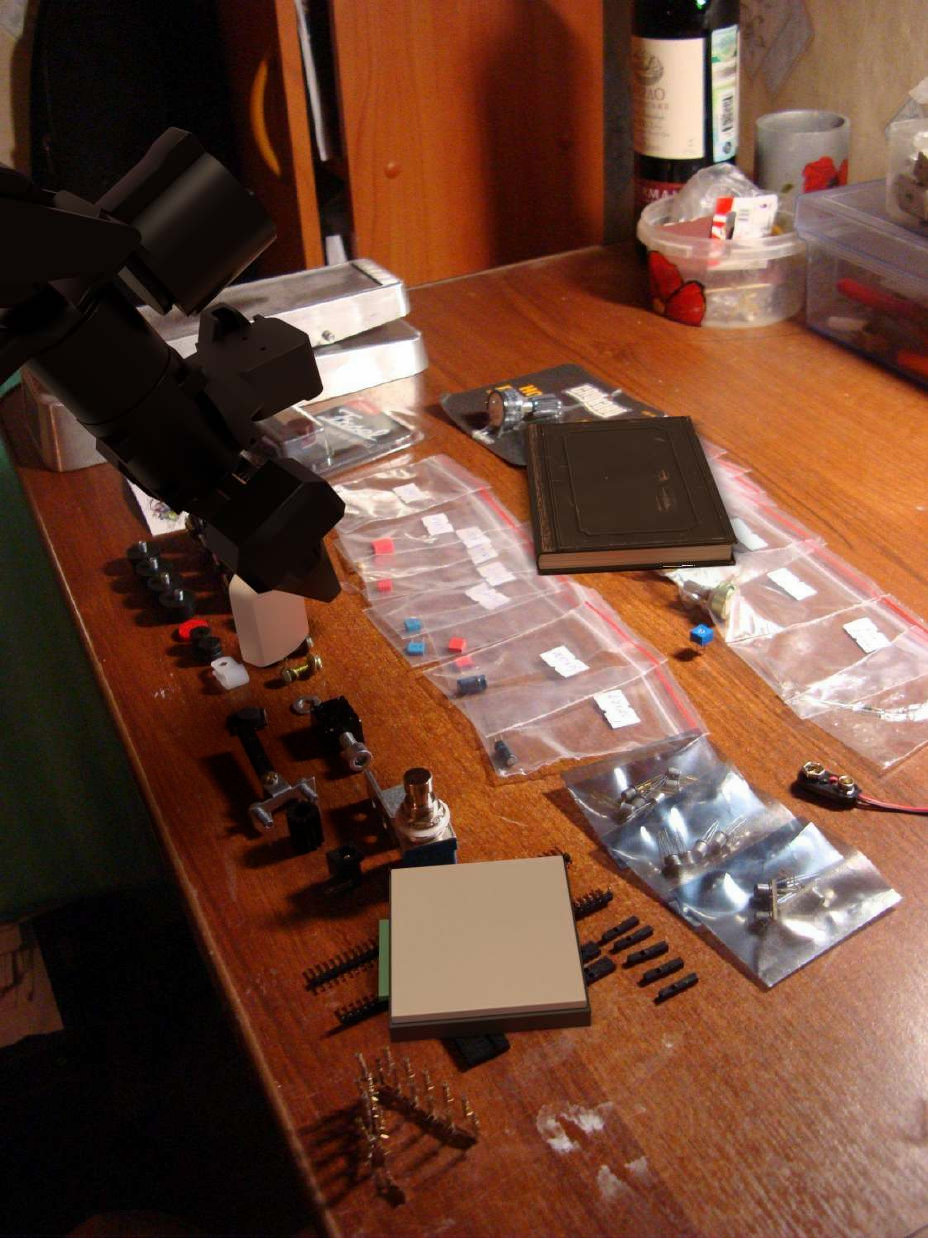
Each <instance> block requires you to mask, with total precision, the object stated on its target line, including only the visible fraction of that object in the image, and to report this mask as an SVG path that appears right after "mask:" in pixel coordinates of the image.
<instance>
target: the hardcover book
mask: <svg viewBox="0 0 928 1238" xmlns="http://www.w3.org/2000/svg"><path fill="white" fill-rule="evenodd" d="M523 445H524V455H525V465H526V475H527V485H528V494H529V495H528V496H529V503H530V504H529V505H530V513H531V514H530V515H531V523H532V534H533V543H534V555H535V564H536V570H537V571H538V572H539V573H540V574H542V575H546V576H547V575H563V574H565V575H566V574H581V573H582V574H583V573H585V574H586V573H598V572H599V573H602V572H619V571H620V572H621V571H622V572H623V571H639V570H657V569H658V570H659V568H660V567H663V566H682V565H693V566H694V565H695V566H699V567H707V566H706V565H717V566H728V565H727V564H735V565H736V564H737V561H736V558H735V555H734V552H733V550H732V545H738V544H739V543H738V542H739V541H738V538H737V536H736V533H735V530H734V528H733V525H732V522H731V520H730V517H729V514H728V512H727V509H726V506H725V504H724V502H723V498H722V497H721V493H720V491H719V488H718V486H717V483H716V481H715V478H714V475H713V472H712V470H711V467H710V465H709V461H708V458H707V456H706V454H705V451H704V448H703V446H702V443H701V440H700V438H699V435H698V433H697V430H696V427H695V425H694V421H693V419H692V417H691V415H675V416H673V415H672V416H657V417H640V418H639V417H638V418H622V419H621V418H620V419H606V420H605V419H604V420H586V421H567V422H553V423H552V422H551V423H535V424H534V423H533V424H532V423H531V424H528V425H527V426H525V428H524V429H523ZM722 564H723V565H722ZM702 565H703V566H702Z"/></svg>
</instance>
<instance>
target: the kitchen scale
mask: <svg viewBox="0 0 928 1238" xmlns="http://www.w3.org/2000/svg"><path fill="white" fill-rule="evenodd" d="M568 871H569V870H568V866H567V861H566V860H565V859H564V857H563V855H551V856H540V857H539V856H538V857H526V858H514V859H513V858H512V859H503V860H502V859H501V860H490V861H476V862H466V863H453V864H441V865H427V866H416V867H406V868H405V867H403V868H393V869H391V871H390V874H389V875H388V918H385V919H379V922H378V923H379V924H378V1000H379V1001H380V1002H385V1001H388V1031H389V1038H390V1042H391V1043H403V1042H415V1041H416V1042H417V1041H427V1040H439V1039H451V1038H463V1037H464V1038H465V1037H474V1036H486V1035H487V1036H489V1035H498V1034H499V1035H501V1034H510V1033H522V1032H523V1033H525V1032H534V1031H547V1030H557V1029H560V1030H561V1029H571V1028H581V1027H582V1028H583V1027H584V1028H585V1027H590V1026H591V1025H592V1009H591V1002H590V997H589V989H588V985H587V980H586V979H587V978H586V974H585V968H584V962H583V954H582V949H581V943H580V937H579V931H578V926H577V925H578V924H577V919H576V913H575V908H574V901H573V895H572V890H571V884H570V877H569V872H568Z"/></svg>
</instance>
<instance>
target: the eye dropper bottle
mask: <svg viewBox="0 0 928 1238" xmlns="http://www.w3.org/2000/svg"><path fill="white" fill-rule="evenodd" d="M228 595H229V596H228V597H229V601H230V606H231V611H232V617H233V622H234V626H235V631H236V635H237V638H238V639H237V640H238V645H239V649H240V654H241V657H242V660H243V662H245V663H248V664H249V665H253V666H255V667H257V668H264V667H267V666H270V665H273V664H274V663H277V662H279V661H281V660H282V659H284V658H285V657H287V656H289V655H290V654H292V653H293V652H294V651H295V650H297V649H298V647H300V646H301V645H302V643H303V642H304V641H305V640H306V638H307V637H308V635H309V633H310V626H309V620H308V614H307V609H306V603H305V597H302V596H298V595H295V594H290V593H286V592H281V591H276V590H272V591H270V592H266V593H262V594H257V593H256V592H255V591H254V590H253V589H252V588H250V587H249V586H248V585H247V584H246V583H245V582H244V581H242V580H241V579H240V578H239V577H238V576H237V575H236V574H235V573H234V575H233V576H232V578H231V581H230V583H229V586H228Z"/></svg>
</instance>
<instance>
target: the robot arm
mask: <svg viewBox="0 0 928 1238" xmlns="http://www.w3.org/2000/svg"><path fill="white" fill-rule="evenodd" d="M277 238H278V231H277V227H276V224H275V222H274V221H273V219H272V217H271V214H270V213H269V211H268V210H267V208H266V207H265V205H264V204H263V202H262V201H261V200H260V198H259V196H258V195H257V194H256V193H255V192H254V191H253V190H251V189H249V188H247V187H245V186H244V185H243V184H242V183H241V181H239V180H238V178H236V176H234V174H233V173H232V172H231V171H230V170H229V169H228V168H227V167H226V166H224V165H223V164H222V163H221V162H220V161H219V160H218V159H216V158H215V156H213V155H212V154H211V153H209V152H208V151H206V149H205V147H204V146H203V145H202V144H201V142H200V141H199V139H198V138H197V137H196V135H195V134H194V133H193V132H190V131H187V130H184V129H181V128H178V127H174V126H170V127H168V129H166V130H165V131H164V132H163V133H162V134H161V135H159V136H158V138H157V139H155V141H154V142H153V143H152V145H151V146H150V147H149V149H148V150H147V152H146V153H145V155H144V157H142V158H141V160H140V161H139V162H137V164H136V165H135V166H133V167H132V168H131V169H130V170H129V171H128V172H127V173H126V174H125V175H124V176H122V178H121V179H120V180H119V181H117V183H115V184H114V185H113V186H112V187H111V188H110V189H109V190H107V192H106V193H105V194H103V196H101V198H99V199H98V200H97V201H96V203H94V204H93V203H91V202H89V201H87V200H85V199H83V198H81V197H79V196H78V195H75V194H73V193H72V192H69V191H67V190H65V189H62V190H60V191H58V192H57V191H53V190H48V189H45V188H42V187H41V186H40V185H39V184H38V183H37V182H36V181H35V179H33V178H31V176H30V175H27V174H25V173H23V172H21V171H20V170H17V169H16V168H14V167H12V166H10V165H8V164H6V163H4V162H2V161H0V388H1V387H2V386H4V384H5V383H6V382H7V381H8V380H9V379H11V378H12V376H14V374H16V373H17V372H18V371H19V370H20V369H21V368H22V367H24V368H25V369H26V370H27V371H28V372H29V373H30V374H31V375H32V376H33V377H34V378H35V379H36V380H37V381H38V382H39V383H40V384H41V385H42V386H43V387H44V388H45V389H46V390H47V391H48V392H49V393H50V394H51V395H52V396H53V397H54V398H55V399H56V400H57V401H59V402H60V403H61V405H63V407H65V408H66V410H68V411H69V412H70V413H71V414H72V415H73V416H74V417H75V418H76V419H75V421H77V422H78V423H79V424H80V425H81V426H82V427H83V429H85V430H86V431H87V432H88V433H89V434H90V435H91V436H92V437H94V438H95V450H96V452H98V454H99V455H100V456H102V457H103V458H104V460H106V462H108V463H109V464H110V465H111V466H112V467H113V468H114V469H115V470H116V471H117V472H118V473H120V475H122V477H124V478H125V479H127V481H129V483H131V484H132V485H134V486H136V487H137V488H138V489H139V490H141V492H142V493H144V494H145V495H146V496H147V497H149V498H152V499H154V500H156V501H159V502H160V503H163V504H164V505H165V506H166V507H168V508H169V509H170V510H171V511H172V512H174V513H175V514H176V515H177V516H179V515H180V514H181V513H182V512H184V513H186V514H189V515H191V516H194V517H196V518H198V519H201V520H203V521H204V522H207V524H206V533H205V547H206V548H207V549H208V550H209V551H210V552H211V553H212V554H213V555H214V556H215V557H216V558H217V559H218V560H219V561H220V562H222V564H223V565H224V566H226V567H227V568H228V569H229V570H230V571H231V572H232V573H233V574H234V575H235V574H236V575H237V576H238V577H239V578H240V579H241V580H242V581H244V582H245V583H246V584H247V585H248V586H249V587H250V588H252V589H253V590H254V591H255V592H256V593H257V594H262V593H266V592H270V591H272V590H276V591H281V592H286V593H290V594H295V595H298V596H302V597H304V598H306V599H310V600H314V601H318V602H322V603H326V604H330V603H332V602H333V601H334V600H335V599H336V598H338V596H339V595H340V594H341V593H342V591H343V588H342V585H341V583H340V580H339V577H338V575H337V572H336V569H335V568H334V565H333V562H332V560H331V557H330V555H329V553H328V550H327V546H326V543H325V540H324V538H325V537H326V536H327V535H328V534H329V532H330V531H332V530H333V529H334V527H335V526H337V524H338V523H339V522H340V521H341V520H342V519H343V518H344V517H345V514H346V513H345V512H346V505H347V503H346V502H345V501H344V500H343V498H341V496H340V495H339V494H338V493H337V491H335V489H334V488H333V487H332V486H331V484H330V483H329V482H328V481H327V479H324V478H323V477H322V476H320V475H319V474H317V473H316V472H314V471H313V470H311V469H309V468H308V467H307V466H305V465H304V464H302V463H301V462H300V461H298V460H297V459H295V458H294V457H282V458H281V457H280V458H279V457H278V458H277V457H276V458H269V459H268V460H267V461H266V462H265V463H264V464H263V465H262V466H261V467H259V465H257V464H255V463H254V462H252V461H251V460H249V459H248V458H247V457H245V456H244V455H242V454H241V453H242V452H243V451H244V452H247V453H249V452H250V451H252V449H253V448H254V447H256V445H258V444H259V443H260V441H261V440H263V438H265V434H264V433H263V431H262V430H261V429H260V428H259V427H258V426H257V424H256V423H257V422H262V421H265V420H268V419H269V418H271V417H273V416H275V415H277V414H279V413H281V412H283V411H285V410H287V409H289V408H292V407H293V406H295V405H297V404H299V403H301V402H303V401H306V402H311V401H312V400H314V399H316V398H317V397H319V396H320V395H321V394H322V393H323V392H324V385H323V381H322V377H321V374H320V370H319V367H318V364H317V360H316V356H315V353H314V350H313V347H312V346H313V345H312V343H311V339H310V335H309V334H308V333H307V332H306V331H304V330H302V329H300V328H298V327H296V326H294V325H292V324H291V323H289V322H286V321H284V320H282V319H281V318H278V317H276V316H275V317H273V316H270V317H269V316H268V317H265V316H263V315H261V314H260V313H257V314H255V315H252V320H253V321H252V322H251V321H250V320H249V319H248V318H247V317H246V316H245V315H244V314H243V313H242V312H241V311H240V310H239V309H237V308H235V307H234V306H232V305H230V304H227V303H226V302H224V301H220V302H218V303H216V304H214V305H212V306H209V304H211V303H212V302H213V300H215V299H216V298H217V297H218V296H219V295H220V294H221V293H222V292H223V291H224V290H225V289H226V288H227V287H228V286H229V285H230V284H231V283H232V282H233V281H234V280H235V279H236V278H237V277H238V276H239V275H241V273H242V272H244V270H245V269H247V268H248V267H249V266H250V265H251V264H252V262H254V261H255V260H256V259H257V258H258V257H259V256H260V255H261V253H263V252H264V251H265V250H266V249H267V248H268V247H270V245H272V243H273V242H274V241H276V239H277ZM117 275H118V276H119V277H120V278H121V279H122V281H123V282H124V283H125V284H126V285H127V286H128V287H129V288H130V289H131V290H132V291H133V292H134V294H136V295H137V297H139V298H140V299H141V300H142V301H143V302H144V303H145V304H146V305H147V306H148V307H150V308H151V309H152V310H153V311H155V313H157V314H159V315H160V316H162V317H166V316H167V315H168V314H169V313H170V312H171V311H172V310H173V308H174V306H175V307H176V309H178V310H179V311H180V312H181V313H182V314H183V315H184V316H185V317H187V318H189V317H190V316H192V317H195V318H196V317H197V316H198V315H199V314H200V317H199V325H198V334H197V342H195V343H194V345H195V349H196V351H195V352H193V353H192V354H190V355H188V356H186V357H183V356H182V355H181V354H180V352H178V350H177V349H176V348H175V347H173V346H171V345H170V344H168V342H167V341H166V340H165V339H164V338H163V336H161V334H160V333H159V332H158V331H157V329H155V328H154V327H153V325H152V323H150V322H149V321H148V319H146V317H145V316H144V315H143V314H142V313H141V311H139V309H138V308H137V306H135V305H134V304H133V302H132V301H131V300H130V299H129V297H127V296H126V294H125V292H123V291H122V289H120V288H119V286H118V285H117V284H116V283H115V282H114V281H113V279H114V278H115V277H116V276H117ZM208 306H209V307H208ZM233 474H234V475H235V476H234V475H233ZM238 478H239V479H238Z"/></svg>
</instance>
